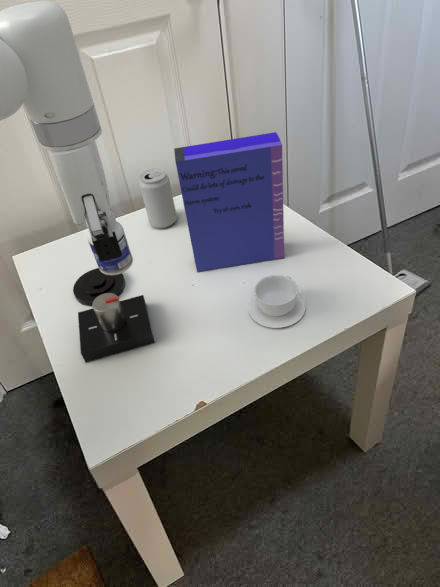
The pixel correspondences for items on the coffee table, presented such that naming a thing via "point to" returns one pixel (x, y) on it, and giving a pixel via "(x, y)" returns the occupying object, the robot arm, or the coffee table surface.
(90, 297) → the burner
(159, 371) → the coffee table surface
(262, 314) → the teacup
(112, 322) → the hob knob
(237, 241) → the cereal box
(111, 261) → the pill bottle
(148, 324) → the black angular base
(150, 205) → the beverage can
